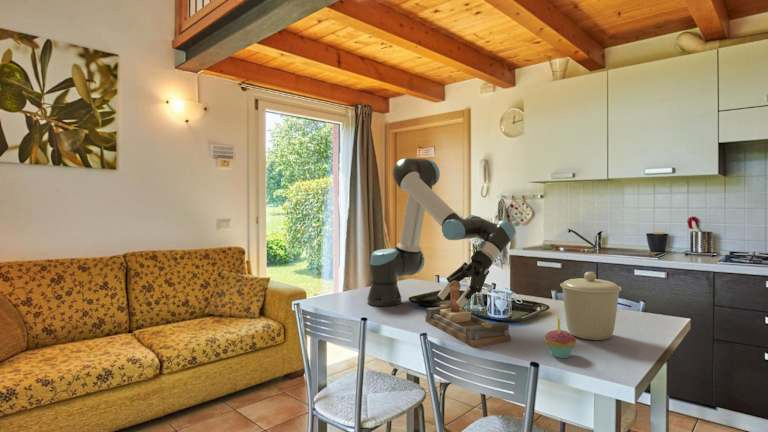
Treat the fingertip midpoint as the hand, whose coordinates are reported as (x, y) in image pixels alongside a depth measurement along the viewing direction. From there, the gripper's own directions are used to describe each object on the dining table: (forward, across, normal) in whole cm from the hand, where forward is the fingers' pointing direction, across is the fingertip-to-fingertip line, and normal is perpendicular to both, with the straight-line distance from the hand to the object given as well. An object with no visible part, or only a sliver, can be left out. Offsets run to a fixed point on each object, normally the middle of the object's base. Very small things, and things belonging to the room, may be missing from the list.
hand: (449, 301), depth 156 cm
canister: (-19, -28, -32) cm, 47 cm away
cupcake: (-4, -38, -17) cm, 42 cm away
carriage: (+3, 0, -7) cm, 7 cm away
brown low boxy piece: (+5, -6, -8) cm, 11 cm away
